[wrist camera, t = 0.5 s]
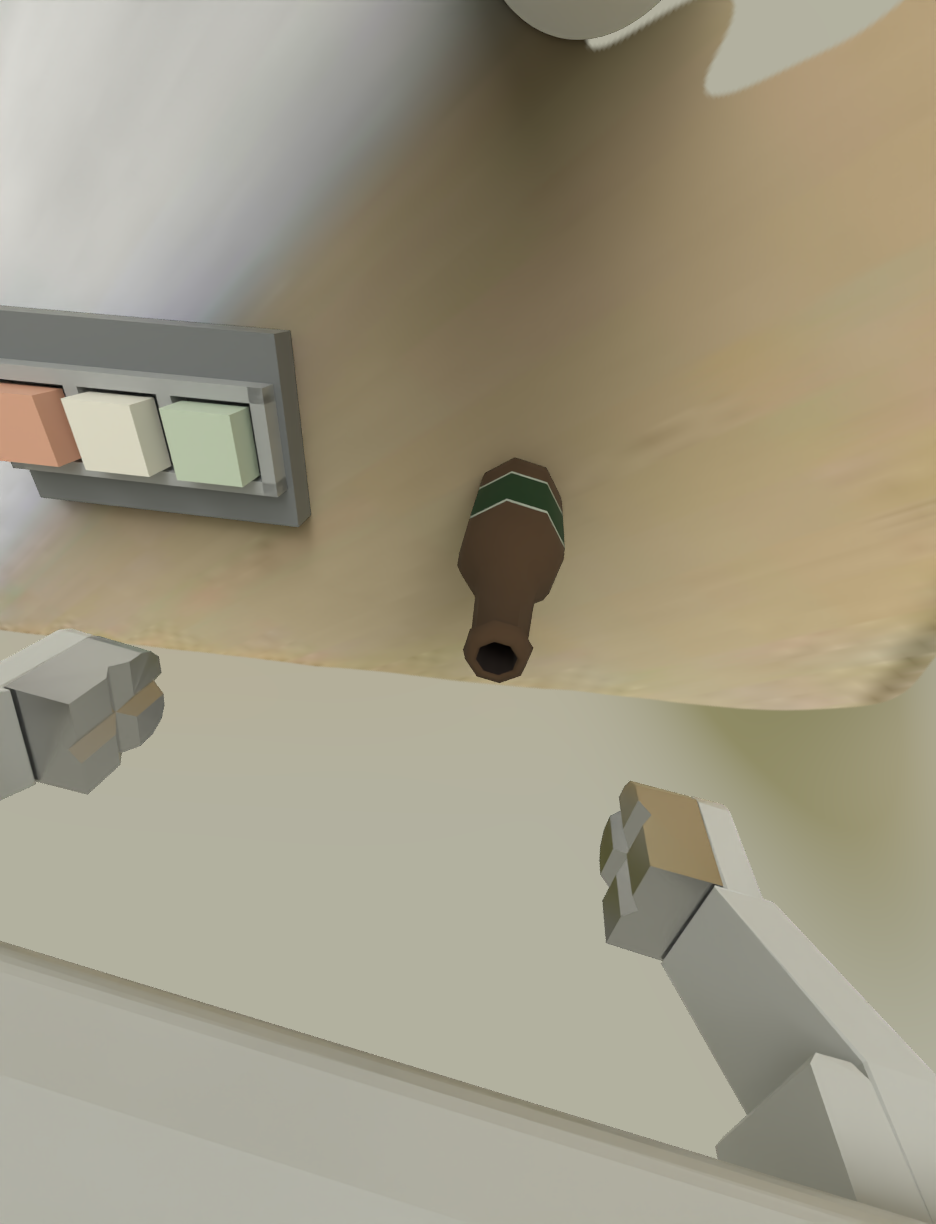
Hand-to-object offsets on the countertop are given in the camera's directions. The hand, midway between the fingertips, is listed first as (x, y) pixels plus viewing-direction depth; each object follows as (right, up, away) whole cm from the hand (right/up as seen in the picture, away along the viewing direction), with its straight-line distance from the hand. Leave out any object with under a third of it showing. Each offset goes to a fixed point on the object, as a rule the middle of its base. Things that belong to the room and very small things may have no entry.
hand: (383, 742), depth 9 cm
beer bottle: (+6, +13, +38) cm, 41 cm away
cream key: (-27, +18, +35) cm, 47 cm away
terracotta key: (-35, +19, +35) cm, 53 cm away
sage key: (-19, +17, +34) cm, 42 cm away
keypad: (-26, +20, +38) cm, 51 cm away
